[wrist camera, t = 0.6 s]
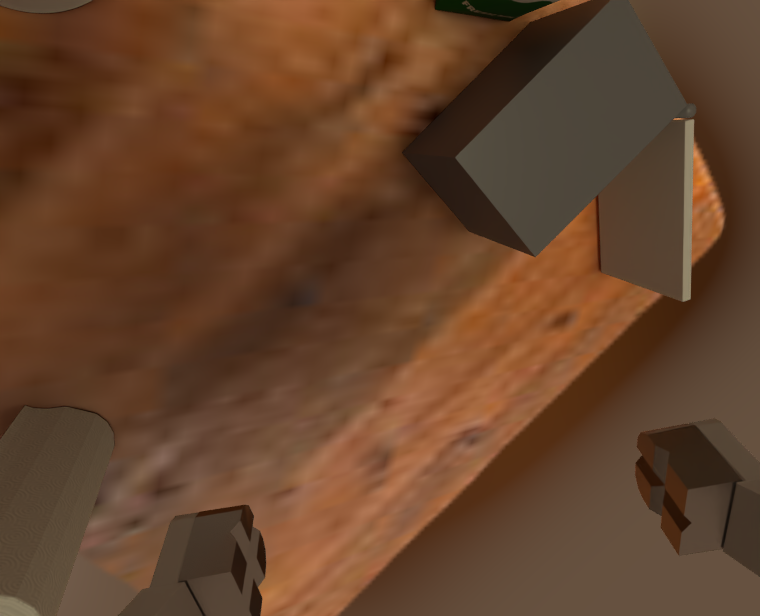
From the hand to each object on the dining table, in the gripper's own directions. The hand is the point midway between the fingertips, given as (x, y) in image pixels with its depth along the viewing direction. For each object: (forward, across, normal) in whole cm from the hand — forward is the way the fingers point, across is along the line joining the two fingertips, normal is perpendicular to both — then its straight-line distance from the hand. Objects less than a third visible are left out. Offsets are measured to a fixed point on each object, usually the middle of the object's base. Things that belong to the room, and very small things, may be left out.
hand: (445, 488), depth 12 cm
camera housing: (+43, -13, +3) cm, 46 cm away
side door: (+44, -22, +12) cm, 50 cm away
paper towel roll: (+31, +29, +19) cm, 47 cm away
